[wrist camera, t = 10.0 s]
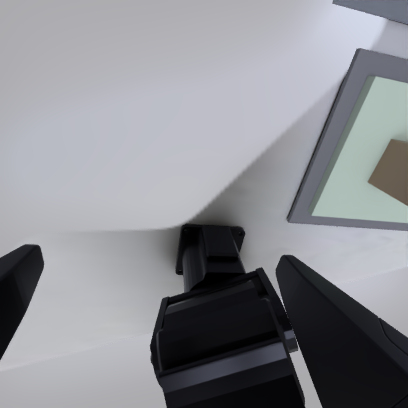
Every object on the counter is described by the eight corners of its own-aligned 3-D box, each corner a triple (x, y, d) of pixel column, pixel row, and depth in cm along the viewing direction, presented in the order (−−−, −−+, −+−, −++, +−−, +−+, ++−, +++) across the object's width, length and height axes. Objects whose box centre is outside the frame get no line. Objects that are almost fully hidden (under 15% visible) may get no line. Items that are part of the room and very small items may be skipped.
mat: (405, 228, 27) (408, 231, 27) (287, 220, 24) (288, 222, 24) (509, 85, 20) (515, 85, 19) (356, 48, 17) (360, 48, 17)
